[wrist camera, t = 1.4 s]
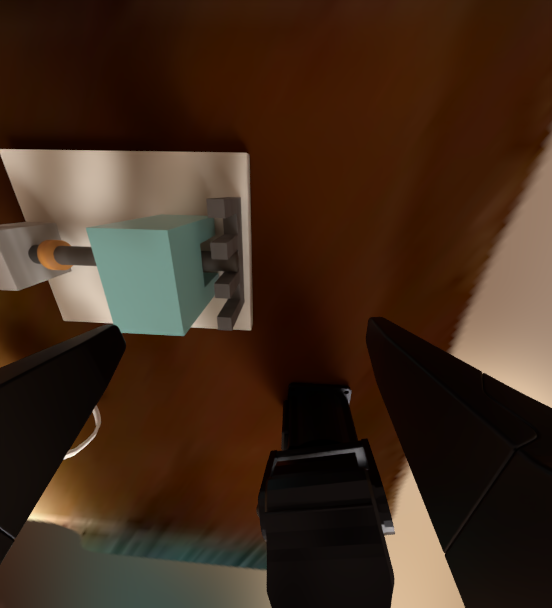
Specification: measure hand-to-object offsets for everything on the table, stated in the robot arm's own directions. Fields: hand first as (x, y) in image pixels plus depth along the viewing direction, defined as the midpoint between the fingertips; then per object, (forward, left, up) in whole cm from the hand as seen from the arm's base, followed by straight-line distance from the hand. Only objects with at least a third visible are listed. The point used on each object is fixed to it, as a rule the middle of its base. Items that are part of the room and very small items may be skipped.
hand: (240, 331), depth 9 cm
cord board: (+11, 0, -13) cm, 17 cm away
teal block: (+6, 0, -12) cm, 13 cm away
